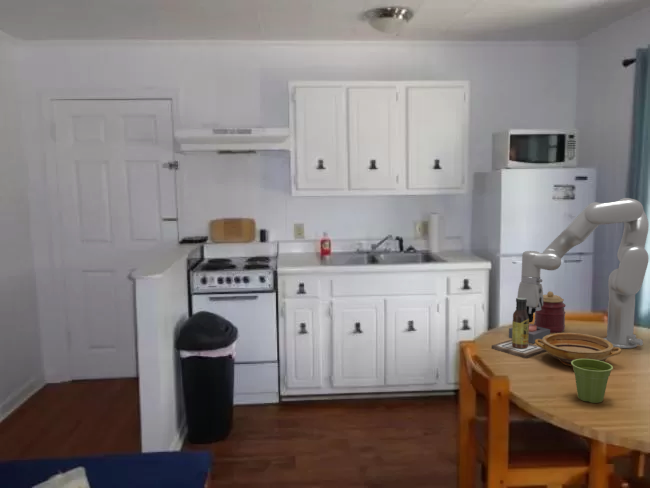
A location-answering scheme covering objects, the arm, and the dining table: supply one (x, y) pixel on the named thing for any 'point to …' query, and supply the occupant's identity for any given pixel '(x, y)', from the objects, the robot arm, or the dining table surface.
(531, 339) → the button housing
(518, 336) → the sauce bottle
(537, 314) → the canister
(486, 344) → the dining table surface
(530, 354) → the pad
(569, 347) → the ceramic bowl
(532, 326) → the button
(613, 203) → the robot arm
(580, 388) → the plant pot
